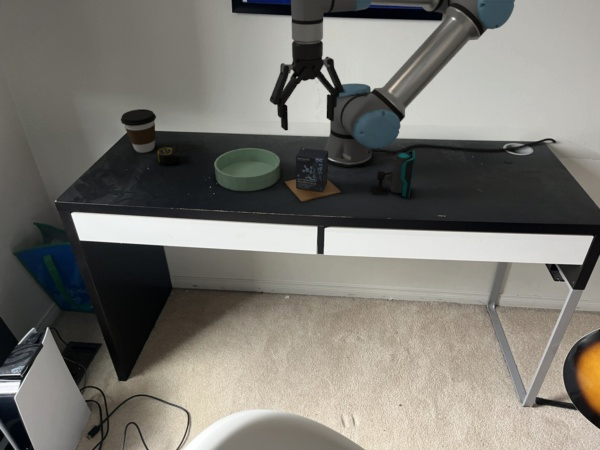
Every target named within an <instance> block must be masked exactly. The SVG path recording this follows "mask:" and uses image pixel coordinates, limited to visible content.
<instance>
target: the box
mask: <svg viewBox="0 0 600 450" xmlns="http://www.w3.org/2000/svg"><path fill="white" fill-rule="evenodd" d="M328 168H329V162H328V151H326V150H325V151H324V149H315V148H307V147H302V146H301V148H300V149H299V150H298V151H297V153H296V155H295V179H296V188H297V189H305V190H311V191H317V192H323V190H324V188H325V186H326V184H327V179H328V173H329V172H328V171H329V169H328Z"/></svg>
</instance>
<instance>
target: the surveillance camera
mask: <svg viewBox="0 0 600 450" xmlns="http://www.w3.org/2000/svg"><path fill="white" fill-rule="evenodd" d="M415 162H416V151H415V150H409V151H407V152H405V151H403V152H399V153H395V161H394V164H393V165H392V170H391V171H384V170H383V171H381V170H377V175H376V180H377V181H378V183H377V186H373V189H372V190H373V191H372V194H373V195H384V196H387V187H383V181H388V182H390V192H392V193H395V194H396V193H397V194H401V196H402V197H404V198H406V199H409V198H411V190H412V184H413V175H414V170H415Z"/></svg>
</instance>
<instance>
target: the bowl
mask: <svg viewBox="0 0 600 450" xmlns="http://www.w3.org/2000/svg"><path fill="white" fill-rule="evenodd" d="M213 164H214V174H215V180H216V182H217V184H219V185H220V186H221V187H222V188H224V189H228V190H231V191H236V192H255V191H260V190H263V189H266V188H269V187H271V186H273V185H275V184H276V183H277V182H278V181H279V180H280V178H281V159H280V157H279V155H277V154H276V153H274V152H273V151H270V150H267V149H264V148H255V147H245V148H238V149H232V150H230V151H226V152H225V153H223V154H221V155H219V156H218V157H217V158H216V159H215V161H214V163H213Z"/></svg>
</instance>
